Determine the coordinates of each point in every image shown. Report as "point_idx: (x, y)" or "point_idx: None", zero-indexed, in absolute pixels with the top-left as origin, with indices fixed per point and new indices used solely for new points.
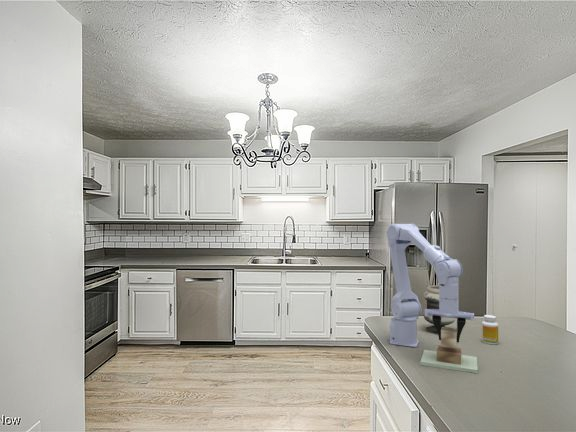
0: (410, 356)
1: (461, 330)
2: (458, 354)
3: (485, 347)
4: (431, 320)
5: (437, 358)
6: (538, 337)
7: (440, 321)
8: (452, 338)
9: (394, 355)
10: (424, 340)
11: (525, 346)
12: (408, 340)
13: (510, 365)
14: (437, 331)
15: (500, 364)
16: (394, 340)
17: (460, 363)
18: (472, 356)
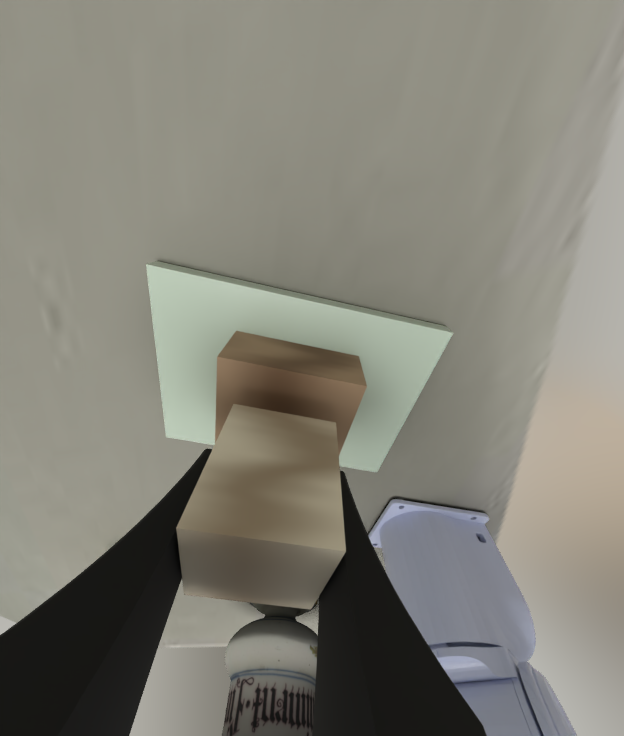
0: (452, 419)
1: (107, 554)
2: (232, 361)
3: None
4: (306, 640)
5: (356, 362)
6: (29, 584)
7: (356, 719)
8: (243, 465)
9: (527, 418)
10: None
11: (41, 540)
12: (426, 528)
13: (37, 397)
14: (370, 542)
15: (76, 400)
16: (472, 529)
17: (237, 333)
18: (183, 438)
